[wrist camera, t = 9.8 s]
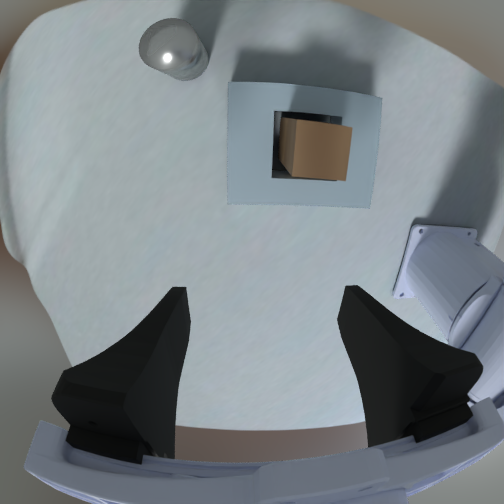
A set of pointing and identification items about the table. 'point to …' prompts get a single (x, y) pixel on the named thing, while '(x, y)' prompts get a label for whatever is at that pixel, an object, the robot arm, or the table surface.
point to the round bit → (174, 49)
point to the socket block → (261, 145)
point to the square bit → (314, 148)
